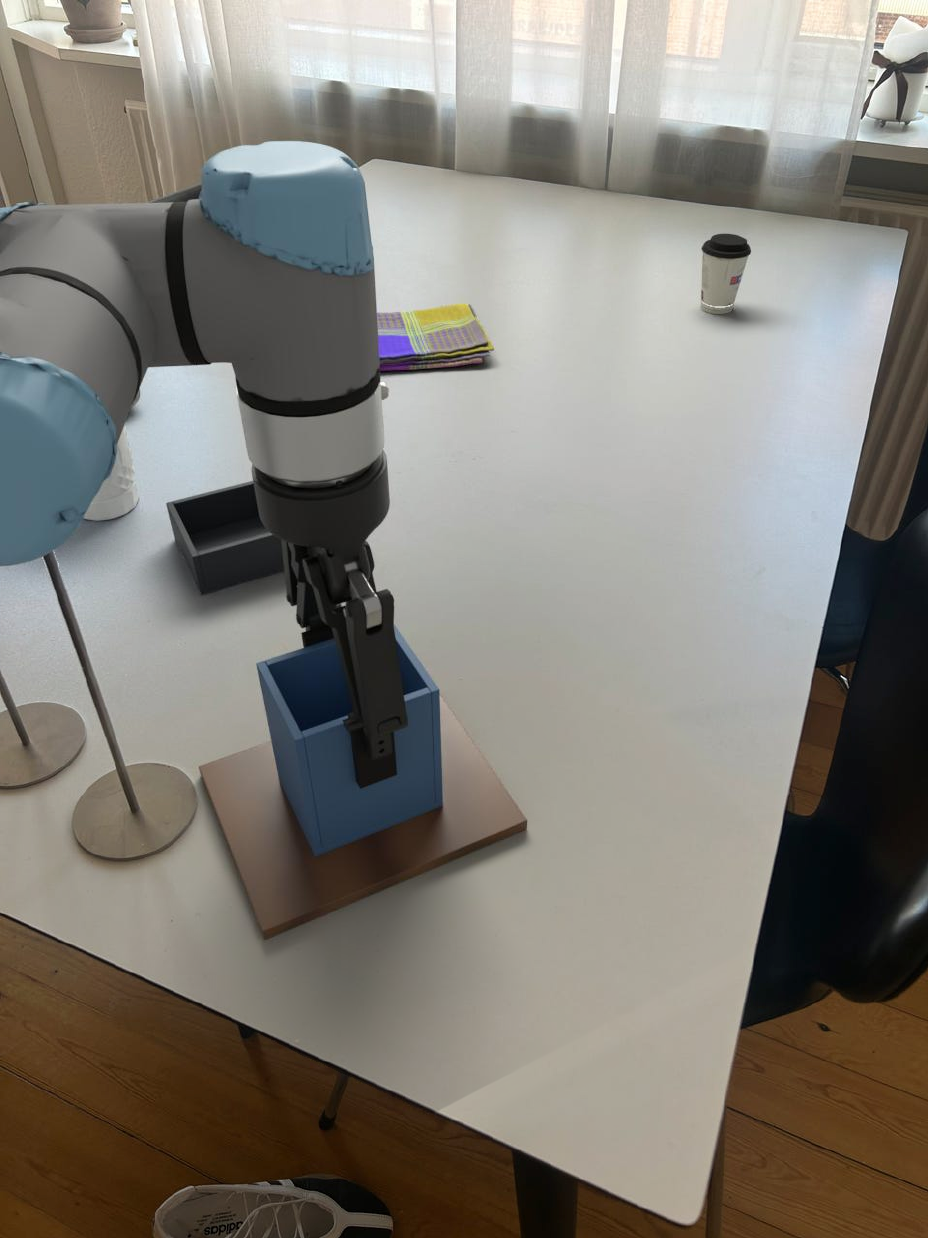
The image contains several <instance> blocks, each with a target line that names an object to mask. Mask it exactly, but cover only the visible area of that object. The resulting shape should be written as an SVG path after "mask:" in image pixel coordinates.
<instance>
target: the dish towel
mask: <svg viewBox="0 0 928 1238" xmlns="http://www.w3.org/2000/svg"><path fill="white" fill-rule="evenodd" d="M377 325H378V343H379V362H380V372H383V371H404V370H406V371H407V370H424V369H438V368H450V367H451V368H453V367H460V366H464V365H465V366H466V365H472V364H481V363H483V357H490V356H491V352H493V351H495V347H494V346H493V343H492V341H491V340H490V339H489V337H488V335H487V333H486V332H485V330H484V328H483V326H482V323H481V322H480V321H479V319H478V315H477V313H476V310H475V308H474V307H473V306H472V304H469V303H466V302H461V303H457V304H456V303H455V304H450V305H445V306H440V307H439V306H438V307H432V308H425V309H413V310H409V311H394V312H393V311H392V312H377Z"/></svg>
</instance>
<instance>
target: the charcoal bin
mask: <svg viewBox="0 0 928 1238" xmlns="http://www.w3.org/2000/svg"><path fill="white" fill-rule="evenodd" d="M165 505H166V509H167V514H168V518H169V521H170V526H171V529H172V534H173V537H174V541H175V543H176V545H177V547H178V549H179V551H180V554H181V555H182V557H183V560H184V562H185V564H186V566H187V568H188V570H189V572H190V575H191V577H192V580H193V581H194V583H195V585H196V588H197V590H198V591H199V593H200V595H201V596H202V595H206V594H209V593H213V592H217V591H219V590H224V589H226V588H231V587H233V586H237V585H241V584H244V583H248V582H251V581H254V580H258V579H261V578H264V577H268V576H271V575H275V574H278V573H283V572H284V563H283V553H282V543H281V539H279V538H277V537H276V536H274V535H273V534H271V533H270V532H269V531H268V530H267V529H266V528H265V526H264V525H263V523H262V521H261V519H260V516H259V511H258V506H257V500H256V494H255V488H254V483H253V480H250V481H246V482H243V483H239V484H235V485H231V486H227V487H224V488H218V489H215V490H211V491H207V492H204V493H203V492H202V493H200V494H195V495H192V496H188V497H184V498H180V499H176V500H172V501H168V502H166V504H165Z"/></svg>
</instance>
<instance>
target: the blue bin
mask: <svg viewBox="0 0 928 1238" xmlns="http://www.w3.org/2000/svg"><path fill="white" fill-rule="evenodd" d="M394 631H395V638H396V645H397V652H398V658H399V665H400V672H401V679H402V686H403V692H404V699H405V706H406V713H407V717H408V726H407V727H405V728H402V729H399V730H397V731H394V741H395V753H396V766H397V775H396V776H393V777H390V778H388V779H385V780H382V781H380V782H377V783H375V784H372V785H369V786H367V787H364V788H362V789H360V788H359V786H358V784H357V782H356V777H355V769H354V761H353V753H352V744H351V736H350V732H348V731H347V730H346V728H345V726H344V723H343V720H344V719H347V718H348V714H349V713H351V712H353V711H352V707H351V703H350V699H349V695H348V691H347V687H346V683H345V679H344V675H343V671H342V667H341V663H340V659H339V655H338V651H337V647H336V643H335V639H334V638H333V639H330V640H327V641H324V642H320V643H317V644H314V645H311V646H308V647H305V648H304V647H301V648H298V649H295V650H293V651H289V652H287V653H284V654H283V653H282V654H279V655H277V656H273V657H271V658H268V659H265V660H262V661H259V662H256V664H255V665H256V670H257V676H258V680H259V686H260V690H261V695H262V700H263V707H264V710H265V711H264V712H265V715H266V719H267V720H266V721H267V726H268V729H269V730H268V731H269V736H270V741H272V747H273V752H274V757H275V762H276V767H277V772H278V777H279V780H280V782H281V785H282V787H283V789H284V791H285V793H286V795H287V798H288V800H289V802H290V804H291V806H292V808H293V810H294V813H295V815H296V817H297V819H298V821H299V823H300V826H301V828H302V830H303V832H304V834H305V836H306V839H307V841H308V843H309V845H310V847H311V849H312V851H313V854H314V856H315V857H316V856H319V855H321V854H324V853H326V852H329V851H331V850H334V849H336V848H339V847H341V846H344V845H346V844H349V843H351V842H354V841H356V840H359V839H361V838H364V837H366V836H369V835H371V834H374V833H376V832H378V831H381V830H383V829H386V828H388V827H391V826H393V825H396V824H398V823H401V822H403V821H406V820H408V819H411V818H413V817H416V816H418V815H421V814H423V813H426V812H428V811H431V810H433V809H436V808H438V807H441V806H443V791H442V758H441V726H440V694H441V693H440V688H439V687H438V685H437V684H436V682H435V681H434V679H433V678H432V677H431V675H430V674H429V672H428V671H427V669H426V667H424V665H423V663H422V662H421V661H420V659H419V658H418V657H417V655H416V654H415V652H414V651H413V649H412V648H411V647H410V645H409V644H408V642H407V640H406V639H405V638H404V636H403V635H402V633H401V632H400V631H399V629H398V628H397V626H396V625H395V624H394Z"/></svg>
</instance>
